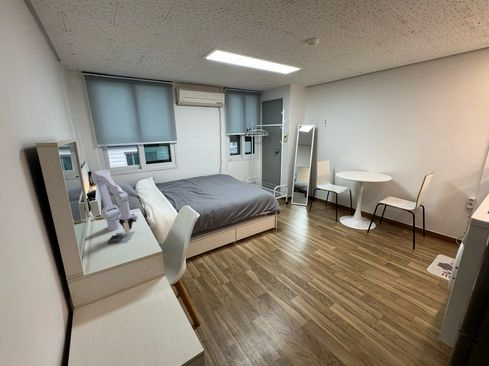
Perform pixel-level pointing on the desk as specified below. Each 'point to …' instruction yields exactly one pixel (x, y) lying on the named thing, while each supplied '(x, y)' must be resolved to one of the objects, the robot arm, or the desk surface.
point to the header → (114, 238)
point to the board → (124, 237)
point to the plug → (126, 226)
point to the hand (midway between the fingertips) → (128, 228)
